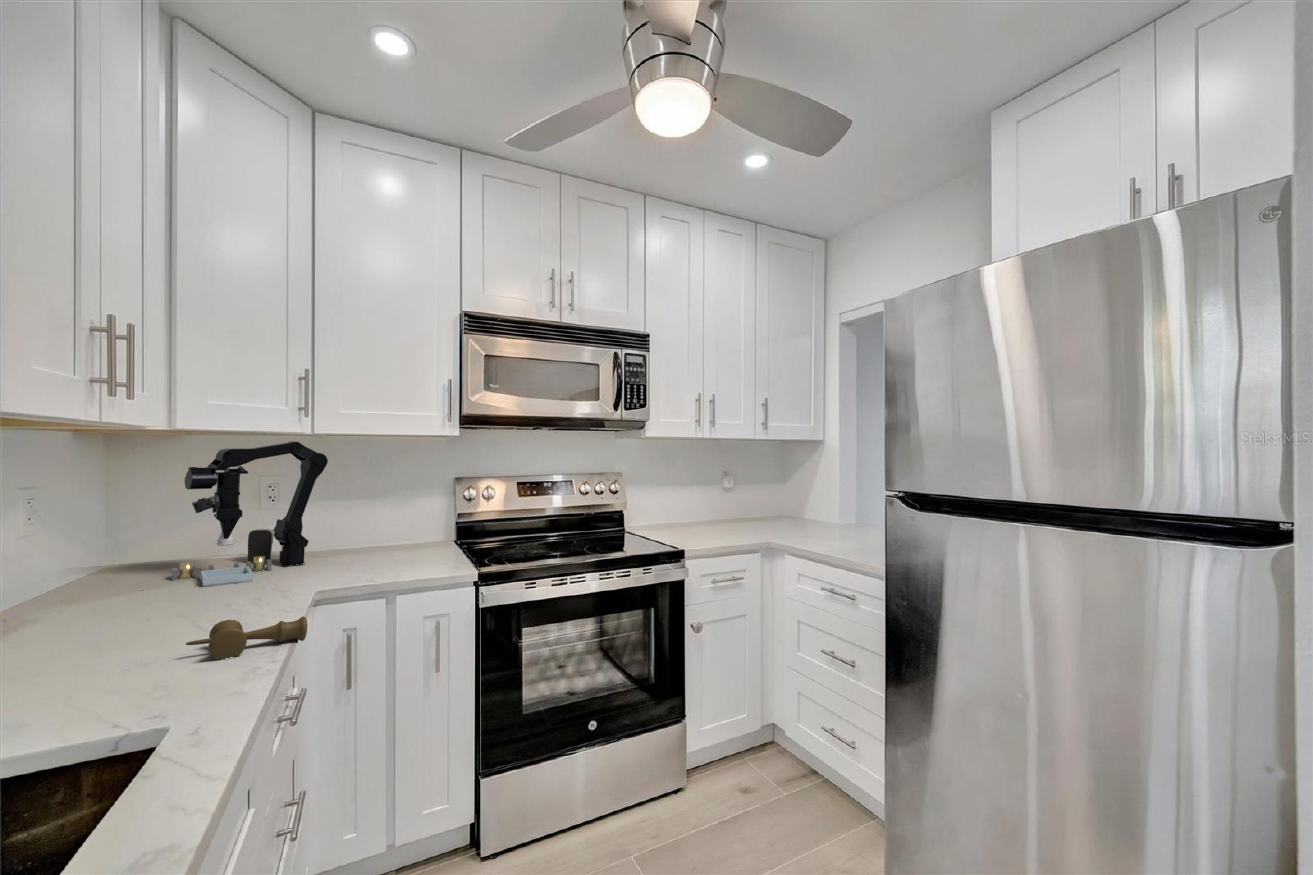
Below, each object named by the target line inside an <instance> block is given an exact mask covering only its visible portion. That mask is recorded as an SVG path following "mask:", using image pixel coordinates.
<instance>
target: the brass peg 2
mask: <svg viewBox="0 0 1313 875" xmlns="http://www.w3.org/2000/svg"><path fill="white" fill-rule="evenodd" d="M263 570H264V571H265V570H266V562H265V556H256V557H254V563H252V572H253V571H254V572H253V573H257V572H259V571H260V572H264V571H263Z"/></svg>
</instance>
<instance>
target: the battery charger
mask: <svg viewBox="0 0 1313 875" xmlns="http://www.w3.org/2000/svg"><path fill="white" fill-rule="evenodd" d="M273 544H274V531H273V529H269V528H266V529H265V528H259V529H258V528H257V529H253V530H250V531H249V533H248V536H247V559H246V560H247V561H251V562H252V564H253V563H254V557H256V556H265V563H266V560H267V559H270V560H271V561H272V551H273V550H272V549H273ZM247 561H246V562H247Z"/></svg>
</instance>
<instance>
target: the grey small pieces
mask: <svg viewBox="0 0 1313 875" xmlns="http://www.w3.org/2000/svg"><path fill="white" fill-rule="evenodd" d="M272 565H273V562H272V559H271V560H270V559H267V560H266V562H265V570H266V569H267V570H266V571H267V572H269V571H270V570H271V571H272ZM247 566H249V568H250V569H251V571H252V572H253V563H252V562H251V561H246V565H245V567H247ZM237 567H240V563H239V562H238V561H236V562H233V568H237ZM208 570H215V566H214V564H208ZM171 571H172V572H171V573H172V575H171V580H172V581H177V579H178V568H177V567H173V568H172V570H171ZM200 576H201V566H200V565H195V566H194V579H199V578H200Z"/></svg>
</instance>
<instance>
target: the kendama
mask: <svg viewBox="0 0 1313 875" xmlns="http://www.w3.org/2000/svg"><path fill="white" fill-rule="evenodd" d="M243 630H244V629H243V625H242V623H241V622H240V621H239V620H236V619H226V620H221V621H219V622H218V623H216V624H214V625H213V626H212V628H211V629H210V631H209V636H208V638H202V639H196V640H191V641H187V642H186V643H185V645H186V646H197V645H206V644H207V645H208V646H207V648H208V654H209V655H210V656H211V658H212V659H215V660H218V659H223V660H226V659H225V658H229V659H231V658H230V657H234V658H236V657H238V656H240V655H241V654H242V653H243V652H244V651H245V649H246V646H247V643H248V640H274V641H277V642H279V643H282V642H284V641H286V640H292V639H293V640H298V641H301V642H304V641H305V639H306V637H307V634H308V620H307V618H306V616H301V617H299V618H298V619H296V620H293V621H283V620H279V622H278V623H276V624H274V625H271V626H267V627H263V628H259V629H256V630H252V631H247V632H246V631H243ZM235 656H236V657H235Z"/></svg>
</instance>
